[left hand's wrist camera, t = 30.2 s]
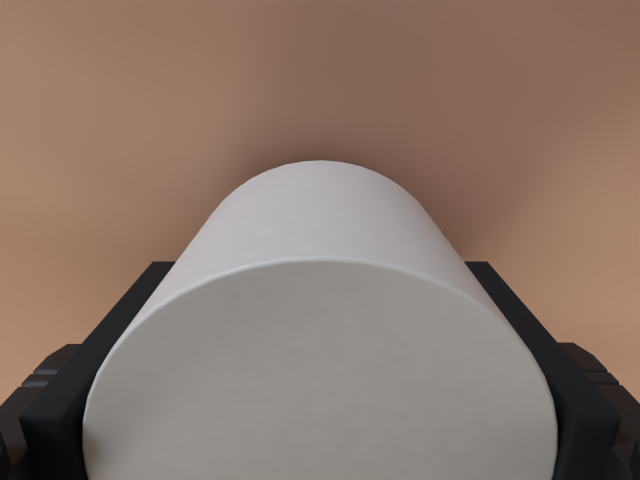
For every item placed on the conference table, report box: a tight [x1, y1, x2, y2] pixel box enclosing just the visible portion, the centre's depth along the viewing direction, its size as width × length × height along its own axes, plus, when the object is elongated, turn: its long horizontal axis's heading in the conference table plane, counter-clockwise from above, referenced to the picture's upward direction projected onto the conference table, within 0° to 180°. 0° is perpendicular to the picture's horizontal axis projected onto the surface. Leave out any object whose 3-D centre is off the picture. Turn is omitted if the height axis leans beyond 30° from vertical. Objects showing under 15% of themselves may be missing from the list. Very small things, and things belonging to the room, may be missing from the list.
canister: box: [82, 160, 558, 480], centre depth 12 cm, size 9×9×8 cm
